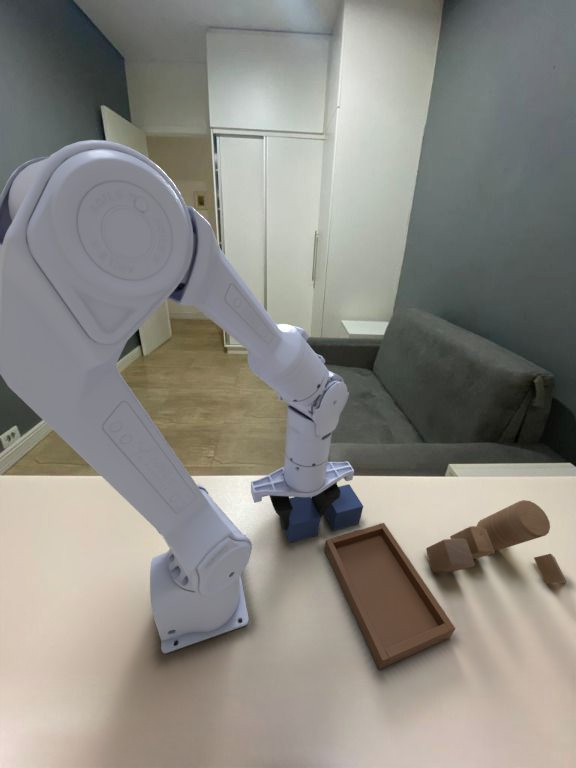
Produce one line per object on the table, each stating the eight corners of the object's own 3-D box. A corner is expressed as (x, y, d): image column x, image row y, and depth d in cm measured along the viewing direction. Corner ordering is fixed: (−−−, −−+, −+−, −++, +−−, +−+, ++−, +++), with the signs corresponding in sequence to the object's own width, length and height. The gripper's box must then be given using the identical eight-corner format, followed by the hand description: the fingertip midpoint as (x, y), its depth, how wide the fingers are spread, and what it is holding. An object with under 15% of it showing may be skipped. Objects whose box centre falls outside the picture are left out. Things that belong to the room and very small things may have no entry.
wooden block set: (431, 589, 42) (468, 582, 34) (413, 522, 48) (441, 502, 39) (557, 583, 43) (622, 575, 35) (525, 518, 48) (576, 497, 40)
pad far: (333, 530, 47) (336, 513, 45) (321, 507, 51) (324, 489, 49) (359, 523, 48) (363, 506, 46) (345, 500, 52) (349, 483, 50)
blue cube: (289, 543, 45) (291, 525, 43) (280, 517, 48) (281, 499, 46) (318, 535, 46) (320, 517, 44) (307, 510, 50) (309, 493, 48)
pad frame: (378, 669, 33) (382, 661, 32) (324, 548, 44) (325, 539, 43) (450, 637, 36) (455, 628, 35) (381, 531, 47) (383, 522, 46)
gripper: (342, 424, 45) (331, 489, 52) (245, 441, 41) (247, 509, 48) (367, 456, 40) (351, 525, 46) (257, 479, 35) (257, 551, 42)
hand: (299, 520), depth 47 cm, fingers closed on blue cube, 4 cm apart
